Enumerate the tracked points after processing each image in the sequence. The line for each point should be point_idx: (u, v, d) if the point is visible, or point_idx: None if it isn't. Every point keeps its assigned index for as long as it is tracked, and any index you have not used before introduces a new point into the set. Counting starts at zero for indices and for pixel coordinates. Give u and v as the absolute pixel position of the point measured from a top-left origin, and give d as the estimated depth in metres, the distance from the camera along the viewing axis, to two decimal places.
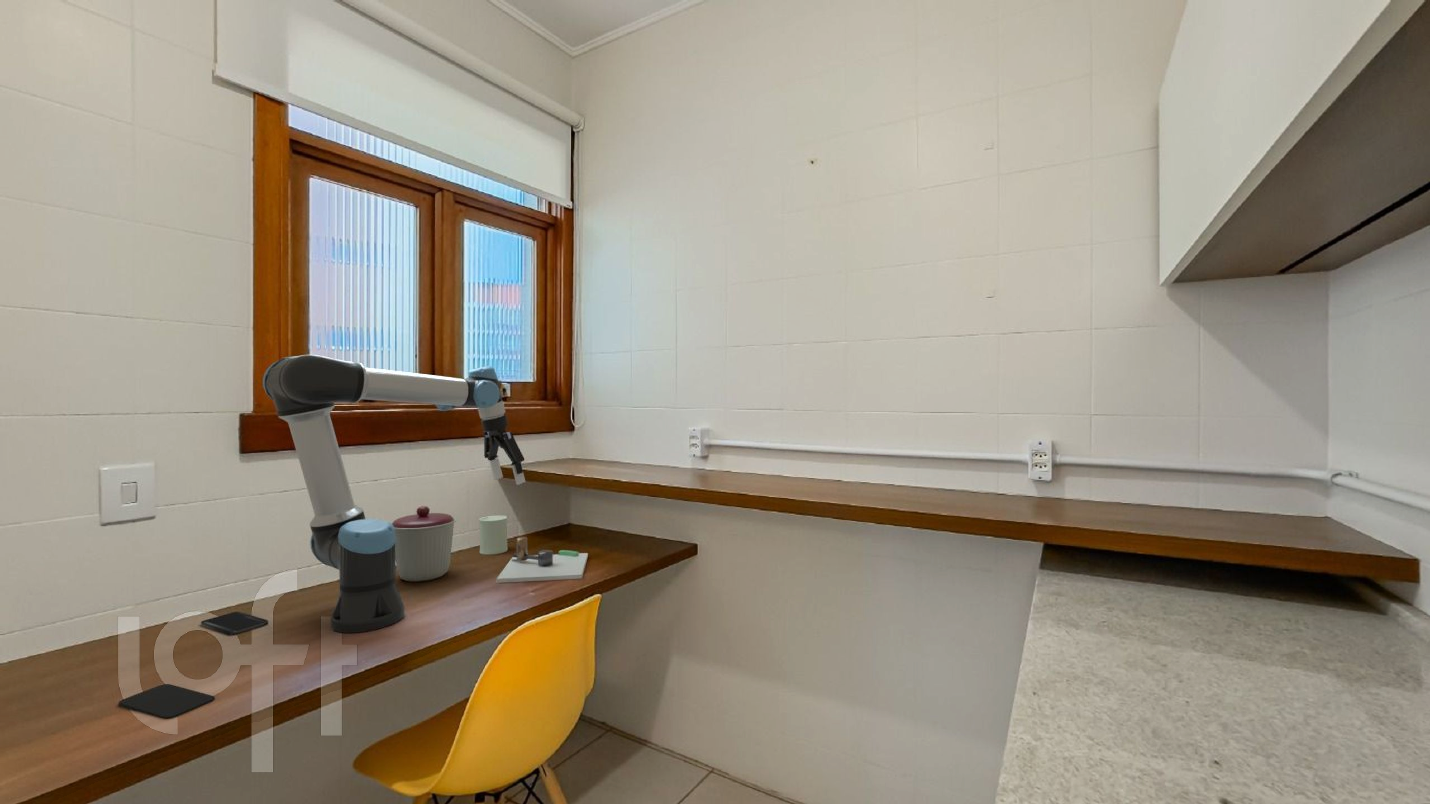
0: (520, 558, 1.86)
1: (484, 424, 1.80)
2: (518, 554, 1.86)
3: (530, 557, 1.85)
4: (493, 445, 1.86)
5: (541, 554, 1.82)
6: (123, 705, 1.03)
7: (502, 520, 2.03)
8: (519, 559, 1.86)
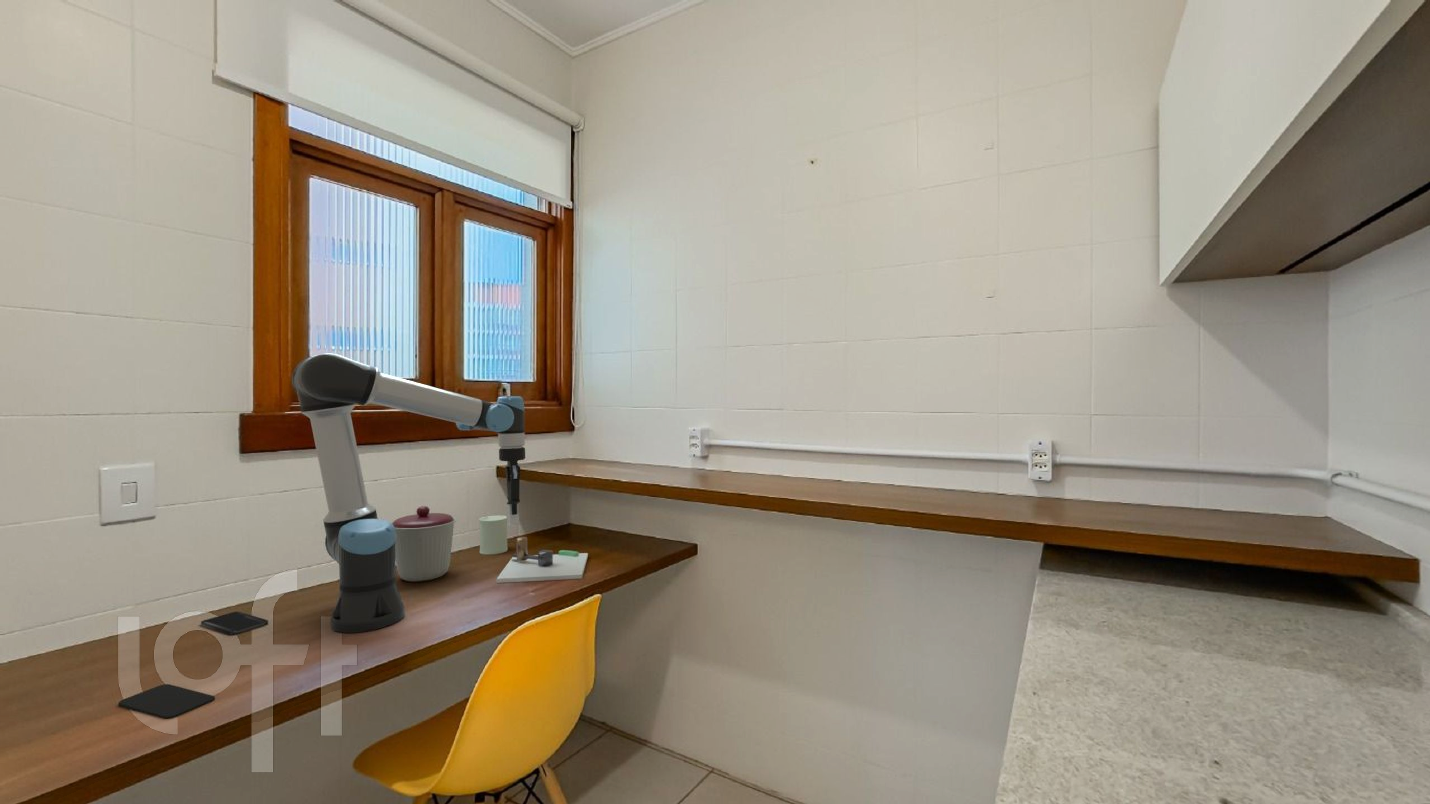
0: (520, 558, 1.86)
1: (499, 452, 1.77)
2: (518, 554, 1.86)
3: (530, 557, 1.85)
4: None
5: (541, 554, 1.82)
6: (123, 705, 1.03)
7: (502, 520, 2.03)
8: (519, 559, 1.86)
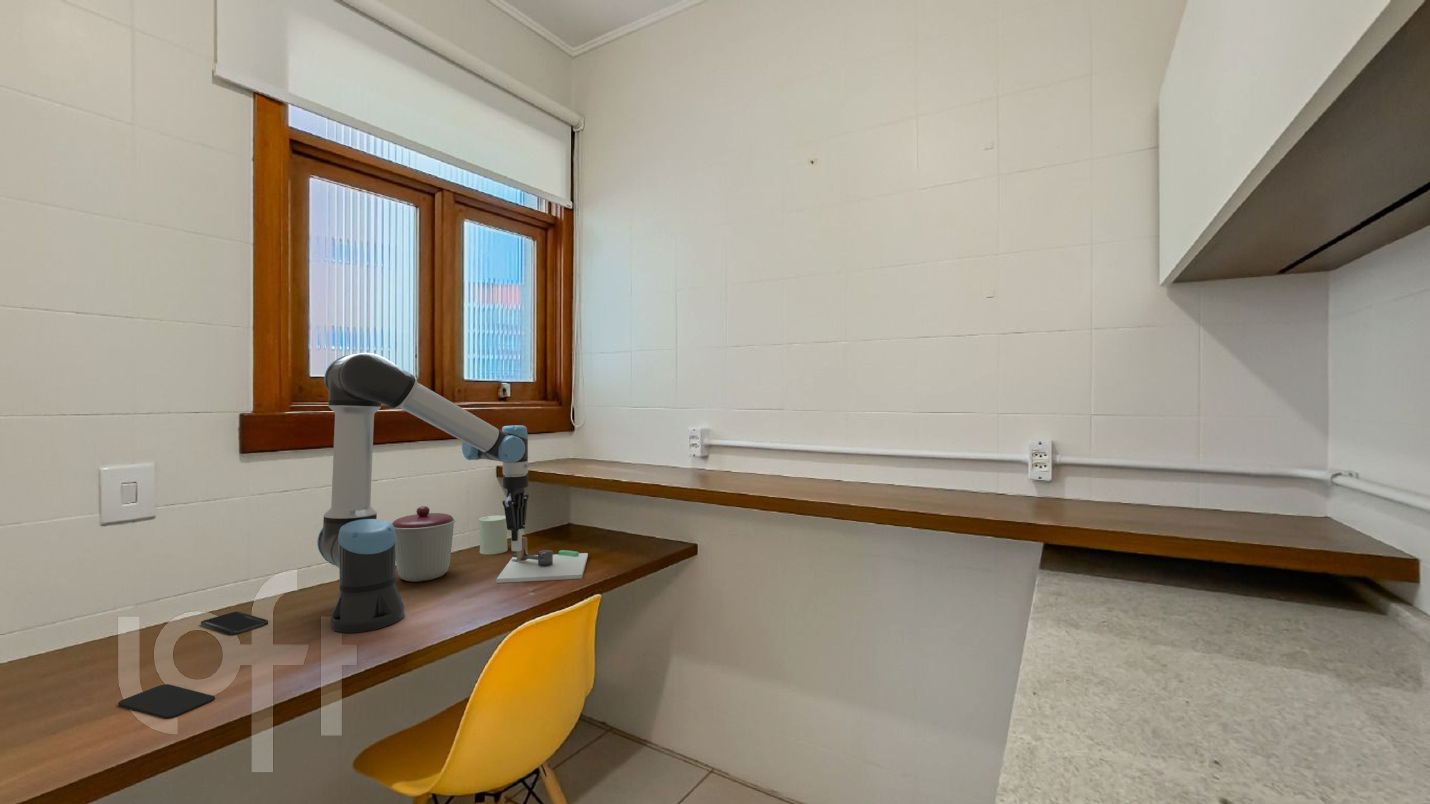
0: (520, 558, 1.86)
1: None
2: (518, 554, 1.86)
3: (530, 557, 1.85)
4: None
5: (541, 554, 1.82)
6: (123, 705, 1.03)
7: (502, 520, 2.03)
8: (519, 559, 1.86)
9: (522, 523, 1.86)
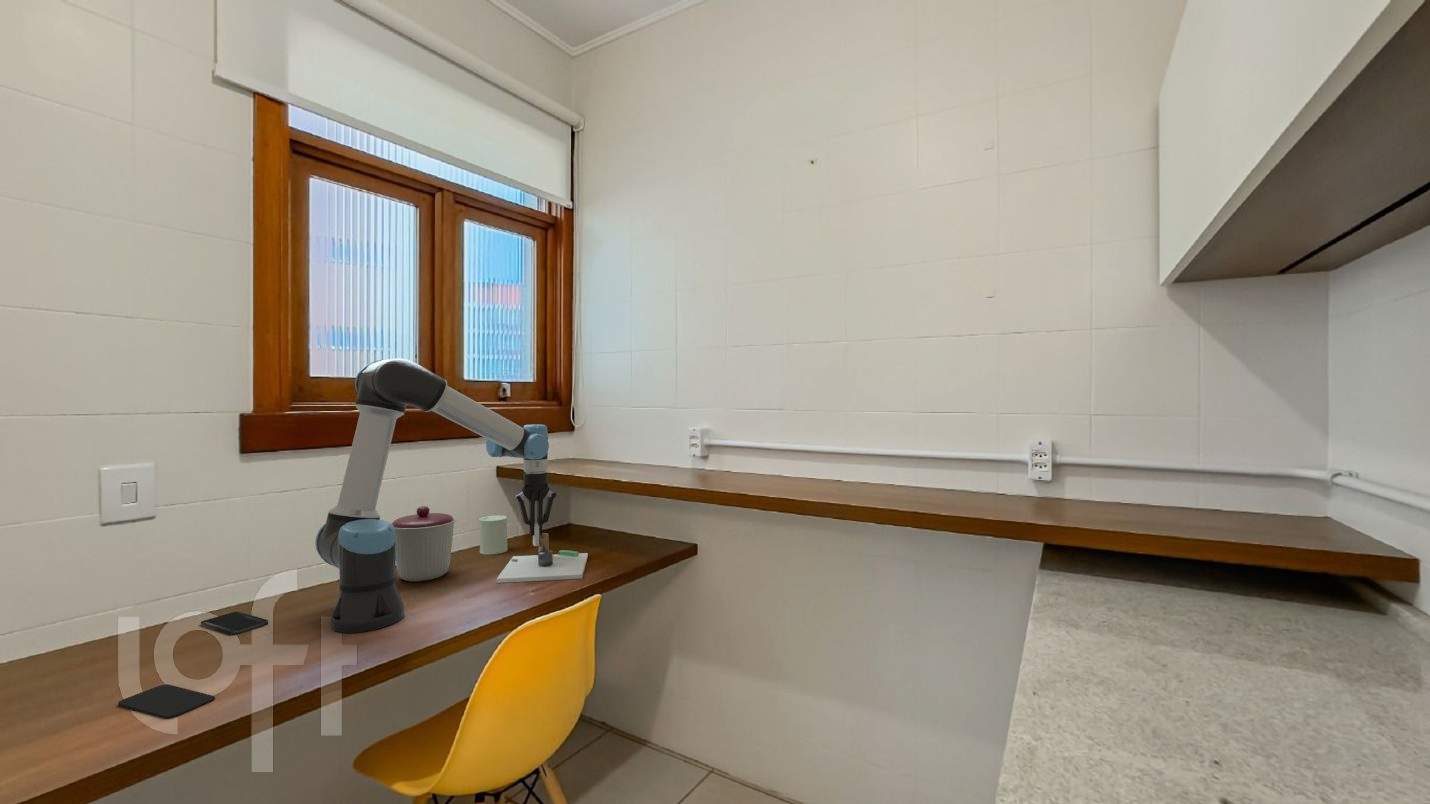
0: None
1: None
2: (538, 549, 1.92)
3: None
4: None
5: (538, 553, 1.83)
6: (123, 705, 1.03)
7: (502, 520, 2.03)
8: None
9: (542, 520, 1.91)
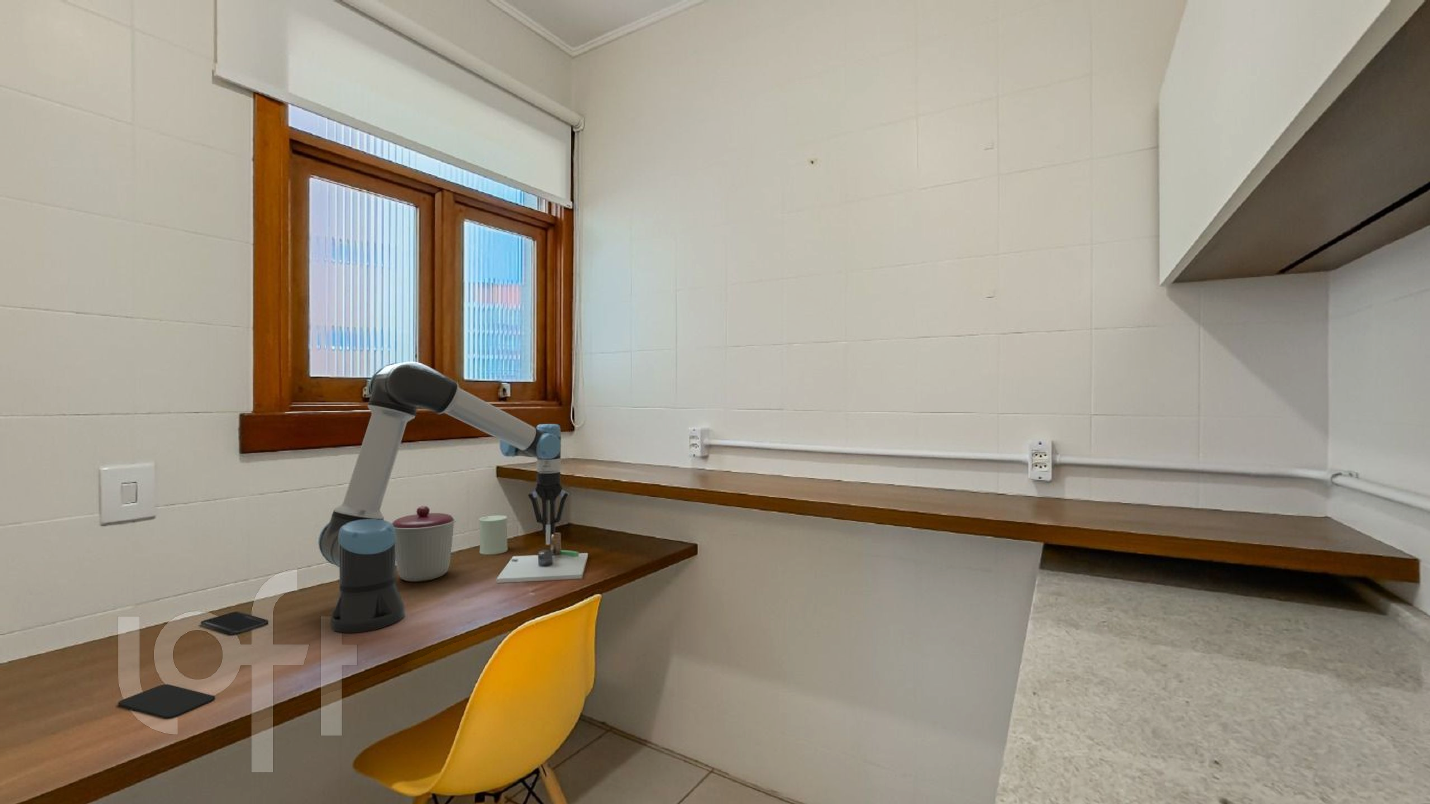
0: None
1: None
2: None
3: None
4: None
5: None
6: (123, 705, 1.03)
7: (502, 520, 2.03)
8: None
9: (553, 519, 1.92)
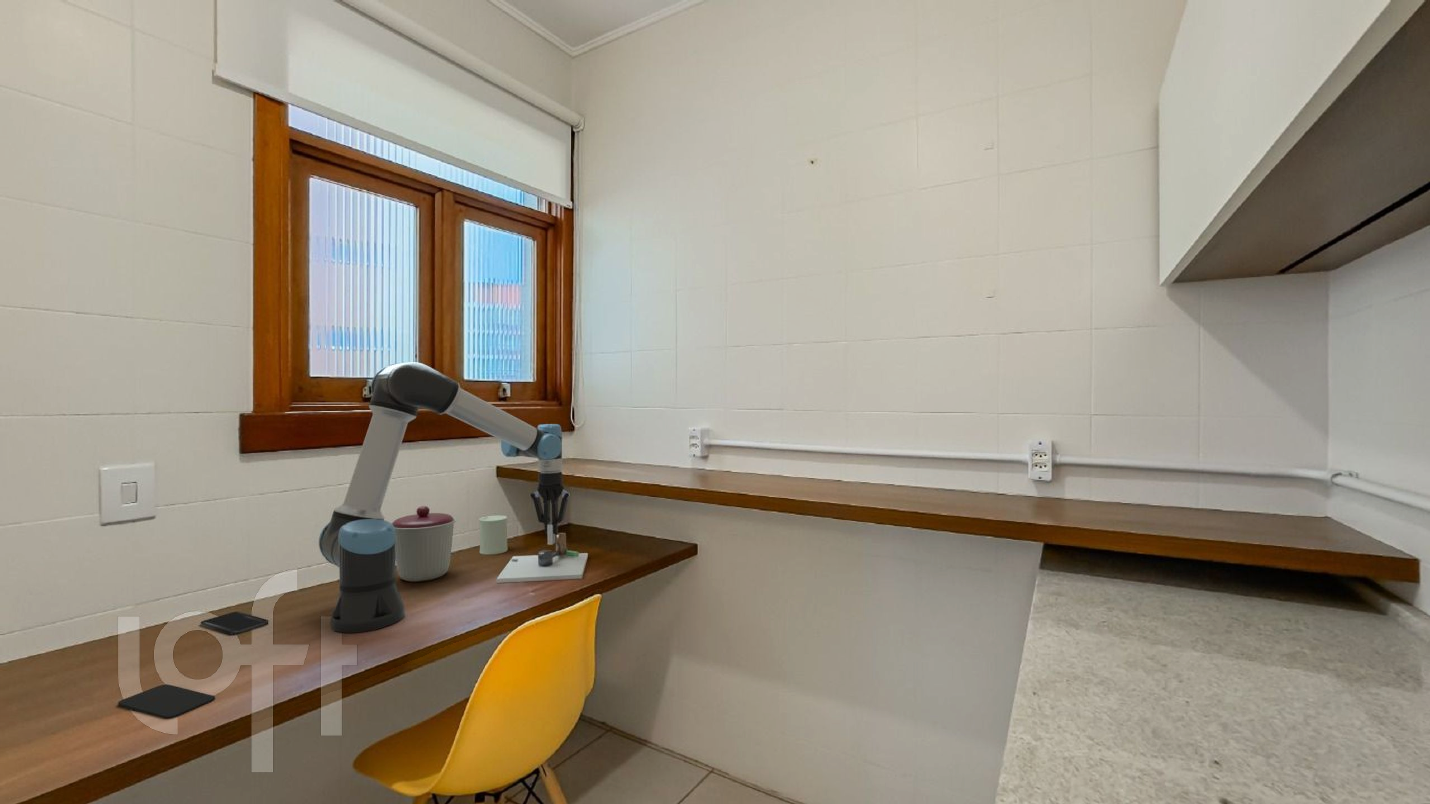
0: None
1: None
2: None
3: None
4: None
5: None
6: (123, 705, 1.03)
7: (502, 520, 2.03)
8: None
9: (555, 519, 1.92)
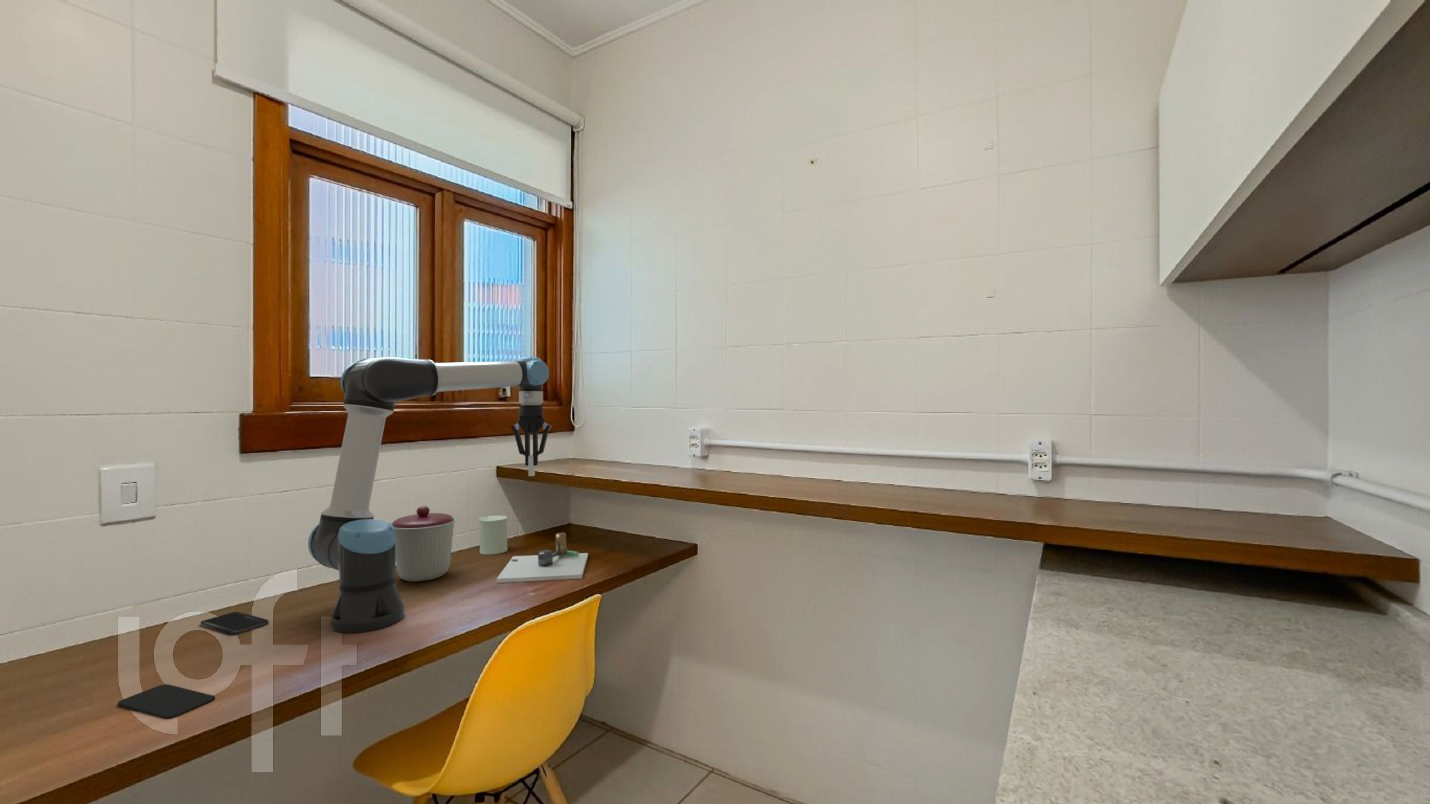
0: None
1: None
2: None
3: None
4: None
5: None
6: (122, 705, 1.03)
7: (502, 520, 2.03)
8: None
9: (536, 451, 1.95)
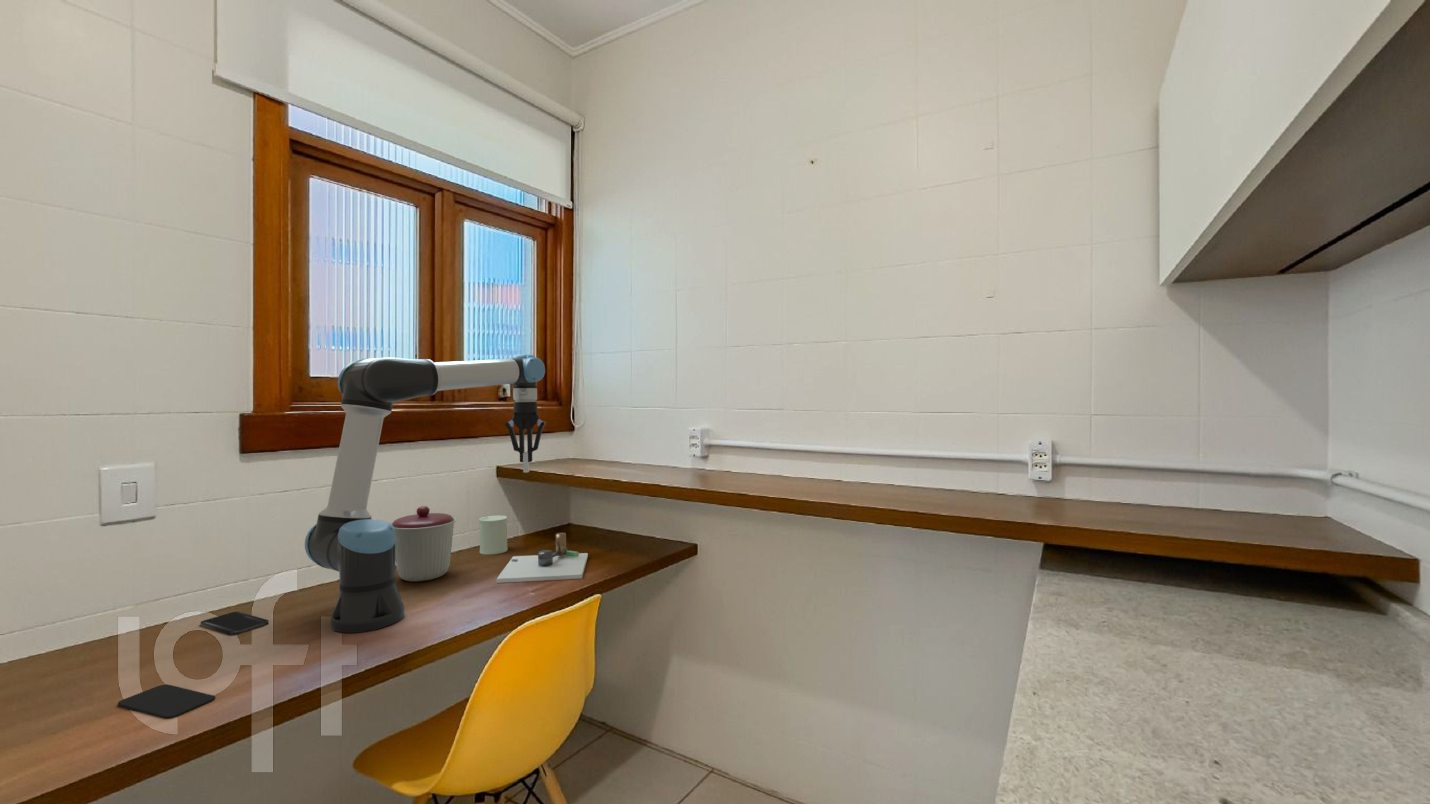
0: None
1: None
2: None
3: None
4: None
5: None
6: (122, 705, 1.03)
7: (502, 520, 2.03)
8: None
9: (530, 448, 1.96)
